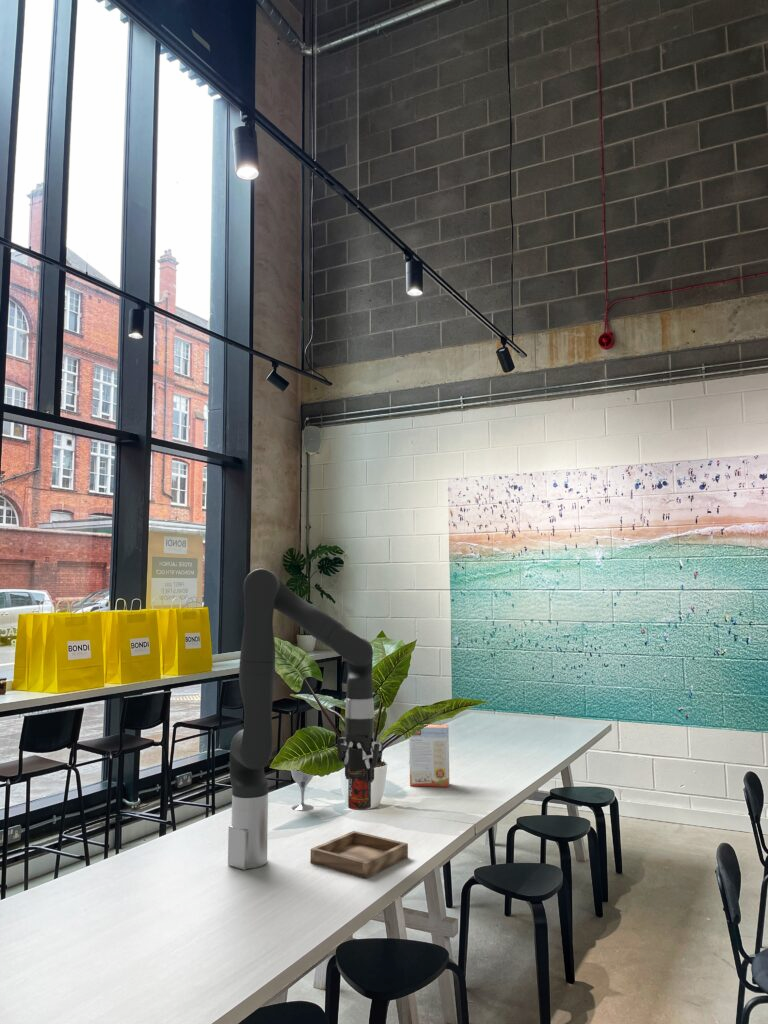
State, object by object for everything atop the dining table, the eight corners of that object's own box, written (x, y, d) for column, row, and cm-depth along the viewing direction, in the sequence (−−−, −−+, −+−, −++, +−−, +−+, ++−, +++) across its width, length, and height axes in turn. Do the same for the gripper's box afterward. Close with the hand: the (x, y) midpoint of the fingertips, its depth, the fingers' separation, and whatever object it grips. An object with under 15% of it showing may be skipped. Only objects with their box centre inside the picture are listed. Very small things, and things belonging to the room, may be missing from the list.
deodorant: (343, 807, 196) (343, 747, 198) (358, 802, 201) (358, 744, 203) (361, 811, 193) (361, 750, 194) (375, 805, 197) (375, 747, 199)
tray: (366, 878, 183) (366, 863, 183) (310, 863, 193) (310, 848, 194) (407, 857, 197) (407, 843, 198) (353, 844, 208) (353, 830, 208)
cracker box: (449, 783, 273) (449, 724, 275) (448, 787, 267) (448, 727, 269) (411, 782, 275) (410, 723, 277) (409, 786, 269) (409, 726, 271)
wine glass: (285, 807, 243) (285, 759, 244) (304, 802, 248) (304, 755, 250) (300, 812, 237) (301, 763, 239) (320, 807, 243) (320, 759, 244)
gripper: (329, 714, 200) (329, 779, 199) (373, 719, 192) (373, 788, 190) (347, 710, 206) (346, 774, 205) (390, 715, 198) (390, 781, 196)
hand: (359, 780), depth 197 cm, fingers closed on deodorant, 6 cm apart
